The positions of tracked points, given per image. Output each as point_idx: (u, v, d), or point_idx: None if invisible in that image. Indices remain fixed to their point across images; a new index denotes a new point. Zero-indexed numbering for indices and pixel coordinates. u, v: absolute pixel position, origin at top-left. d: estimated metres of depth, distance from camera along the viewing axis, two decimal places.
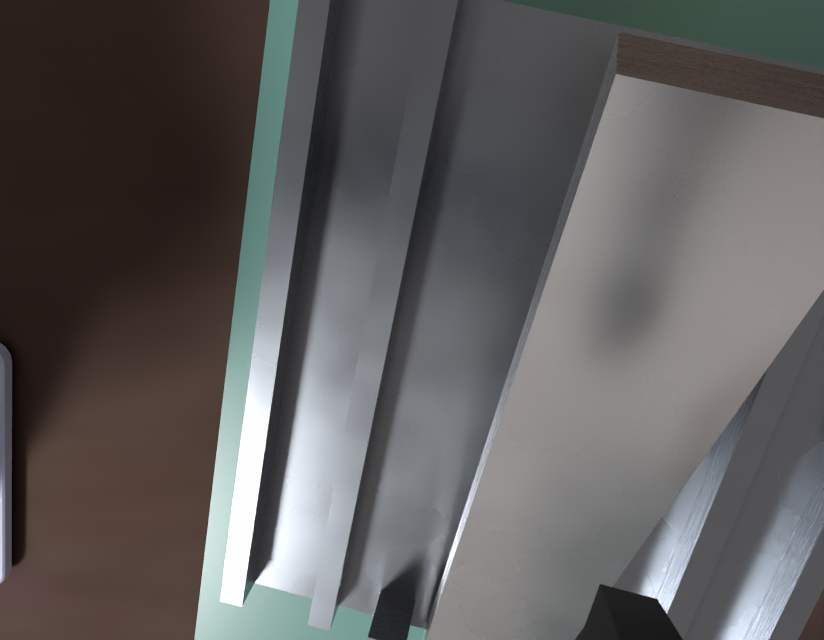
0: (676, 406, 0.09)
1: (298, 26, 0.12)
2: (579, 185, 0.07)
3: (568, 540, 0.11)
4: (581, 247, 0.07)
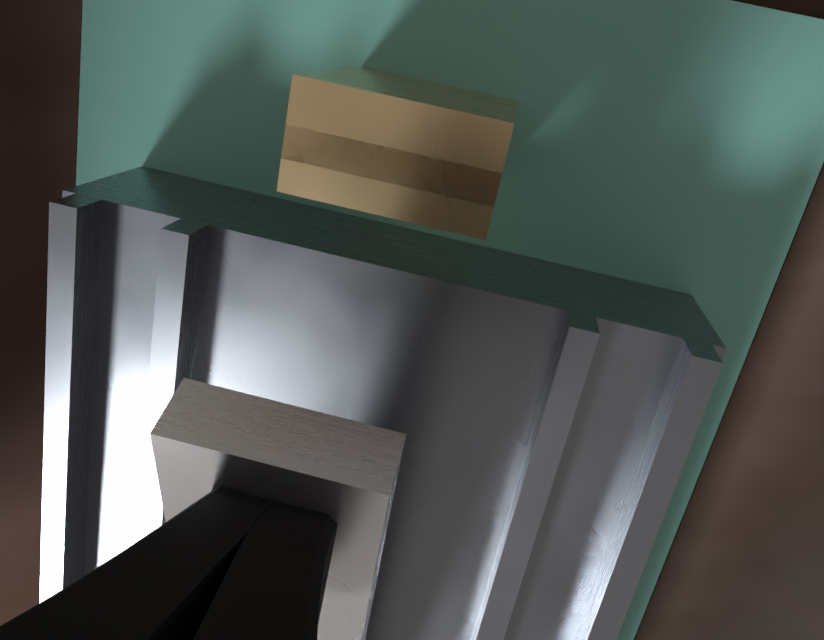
0: None
1: (53, 256, 0.13)
2: None
3: None
4: None
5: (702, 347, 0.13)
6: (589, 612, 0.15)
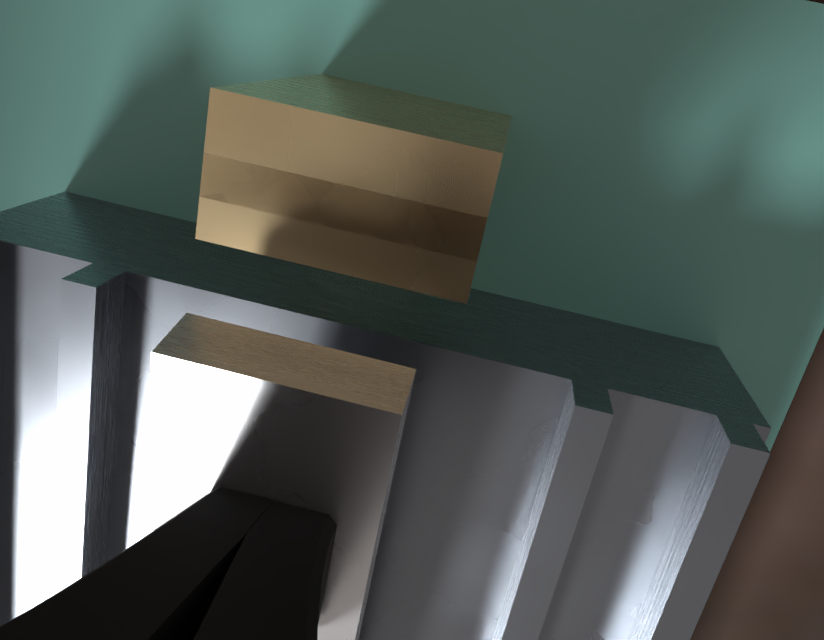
0: None
1: None
2: None
3: None
4: (169, 492, 0.08)
5: (741, 429, 0.10)
6: None
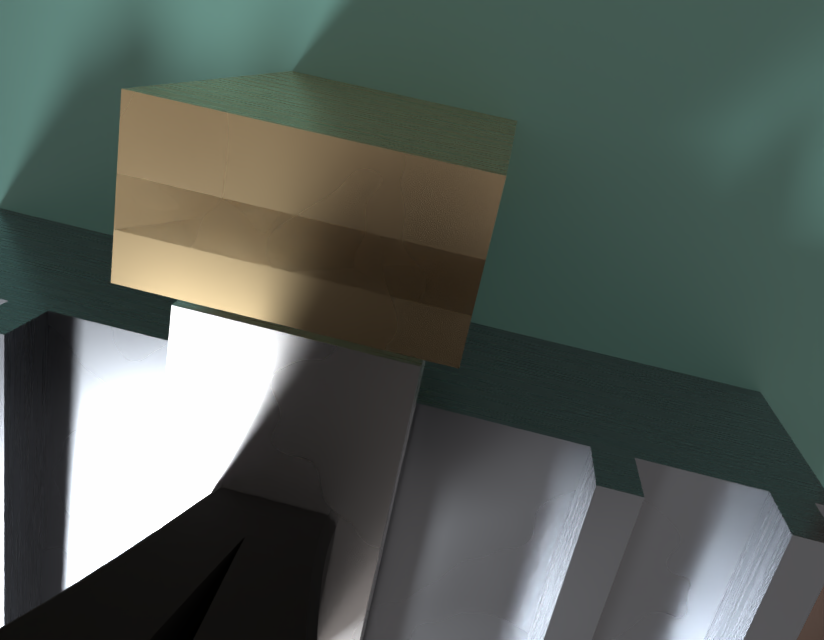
0: None
1: None
2: None
3: None
4: (176, 465, 0.08)
5: (802, 511, 0.08)
6: None
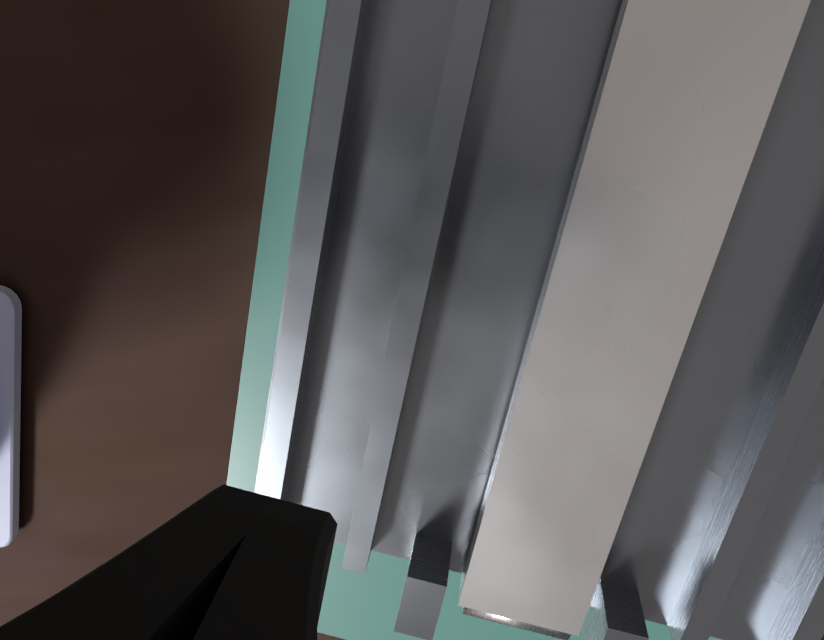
0: (723, 117, 0.12)
1: None
2: None
3: (632, 319, 0.13)
4: None
5: None
6: None
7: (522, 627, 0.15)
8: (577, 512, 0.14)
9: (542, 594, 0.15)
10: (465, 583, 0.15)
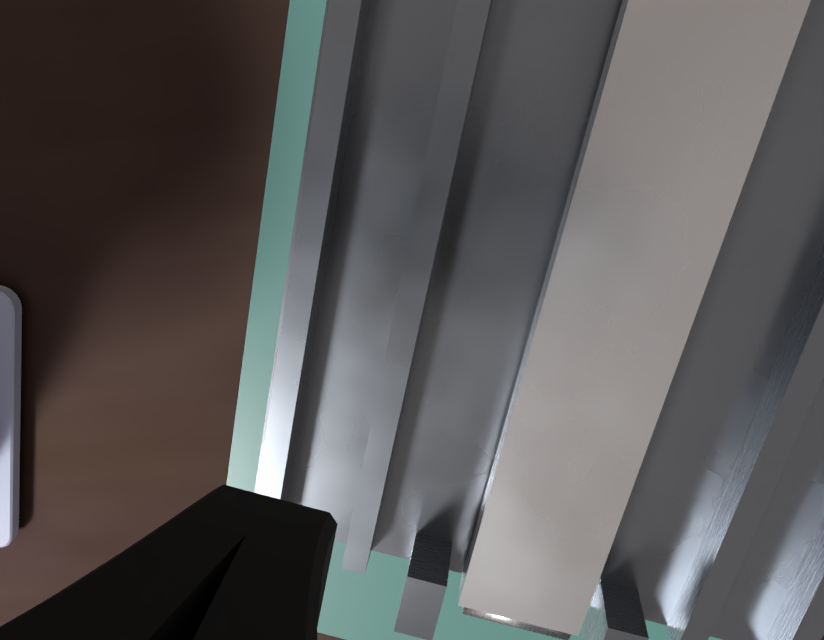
0: (723, 117, 0.12)
1: None
2: None
3: (632, 319, 0.13)
4: None
5: None
6: None
7: (522, 627, 0.15)
8: (577, 512, 0.14)
9: (542, 594, 0.15)
10: (465, 583, 0.15)
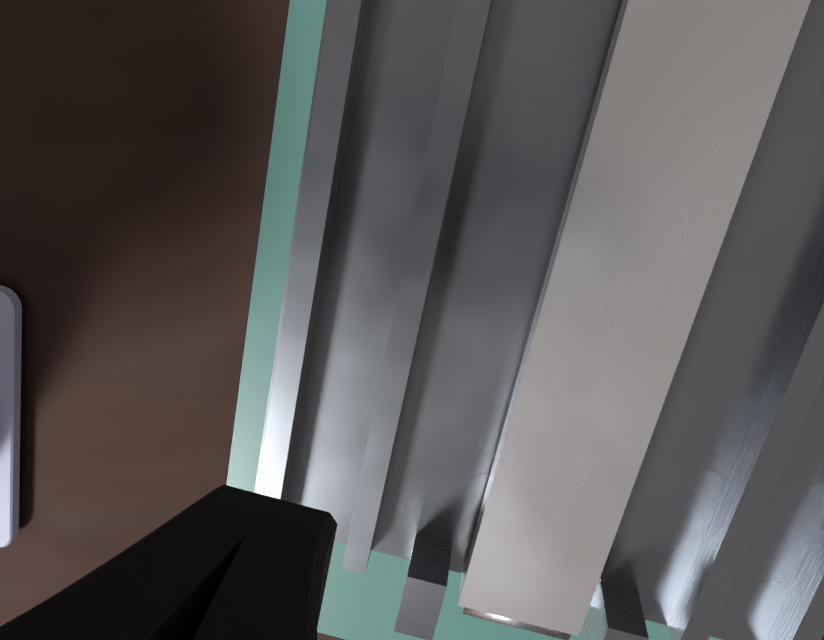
0: (723, 117, 0.12)
1: None
2: None
3: (632, 319, 0.13)
4: None
5: None
6: None
7: (522, 627, 0.15)
8: (577, 512, 0.14)
9: (542, 594, 0.15)
10: (465, 583, 0.15)
